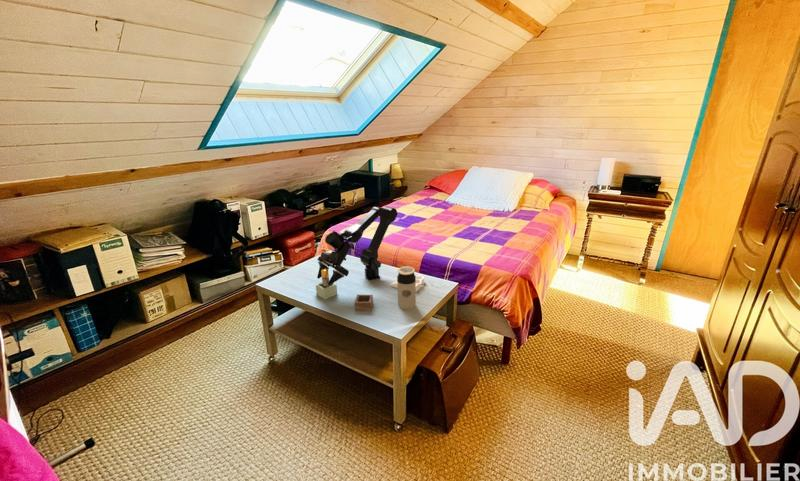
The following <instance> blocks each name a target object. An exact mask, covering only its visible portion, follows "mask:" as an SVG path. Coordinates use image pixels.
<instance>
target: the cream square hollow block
mask: <svg viewBox="0 0 800 481" xmlns="http://www.w3.org/2000/svg"><path fill="white" fill-rule="evenodd" d="M315 290H316V295H317V296H319V297H320V298H321V299H323V300H327V299H330V298H331V297H334V296H336V295H338V286H337V284H336V283H335V282H334V283H333V284H331V285H330V286H329V287H327V288H323V283H322V282H320V283H317V284H315Z"/></svg>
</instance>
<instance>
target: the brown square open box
mask: <svg viewBox="0 0 800 481" xmlns="http://www.w3.org/2000/svg"><path fill="white" fill-rule="evenodd" d="M373 296H374V295H373V294H356V297H355V300H354V311H355V312H372V309H373V305H374V297H373Z"/></svg>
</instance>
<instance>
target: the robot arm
mask: <svg viewBox="0 0 800 481" xmlns="http://www.w3.org/2000/svg"><path fill="white" fill-rule="evenodd" d="M397 217H398V210H397V208H395V207H390V206H387V205H385V206H383V207H381V206H380V207H379V206H373V207H371V209H370V210H369V212H367V214H366V215H364V216H363V217H362V218H361V219H360V220H359V221H358V222H357V223H355V224H354V225H351V226H349V227H348V228H346V229H345V230H344V231H343V232H341V233H339V232H338V231H336V230H333V231H332V232H330V233H328V234H326V236H325V239H324V241H325V244H327V245H328V246H330V247H332V248H333V249H334V250H332V251H331V252H325V251H321V252H320V256H318V258H317V262H318V265H319V268H318V272H317V276H316V278H317V279H318V280H319V279H321V278H322V274H321V270H322V269H328V270H329V269H330V267H331V268H333V269H332V275H331V277H330V278H329V283H328V285H331V284H333V283H334V284H335V283H336V282H337V281H338V280H341V279H342V278H345V277H348V276H349V270H348V269H347V268H345V267H343V266H342V264H343V262H344V261H347V258H346V257H347V255H348V254H349V252H350V250H353V251H354V250H355V244H357V243H358V242H359V240H361V238H362V237H363V233H364V231H365V230H366V229H368V228H369V227H370V226H371V225H372V224H373V223H374V222H375V221H376V220H377V219H378V218H379V223H378V225H377V228H376V230H375V232H374V234H373V237H372V239H371V241H370V244H369V246H368V247H367V248H363V249H362V252H361V254H359V256H360V258H359V259H360V262H361V263H362V264H363V265H364V267H365V268H364V277H365V278H366V279H367V280H368V281H371V280H376V279H380V278H381V276H380V272H379V271H380V268H381V267H382V262H380V261H379V260H378V257H379V248H380V247H381V244H382V242H383V240H384V237H385V235H386V233H387V230H388V228H389V226H390V225H392V223H394V222H395V220H396V219H397Z"/></svg>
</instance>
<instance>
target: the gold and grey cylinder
mask: <svg viewBox="0 0 800 481" xmlns="http://www.w3.org/2000/svg"><path fill="white" fill-rule="evenodd" d="M321 274H322V277H321V280H322V282H321V283H323V288H327V287H329V286H330V285H328V283H329V280H330V275H329V274H330V273H329V269H322V270H321Z"/></svg>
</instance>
